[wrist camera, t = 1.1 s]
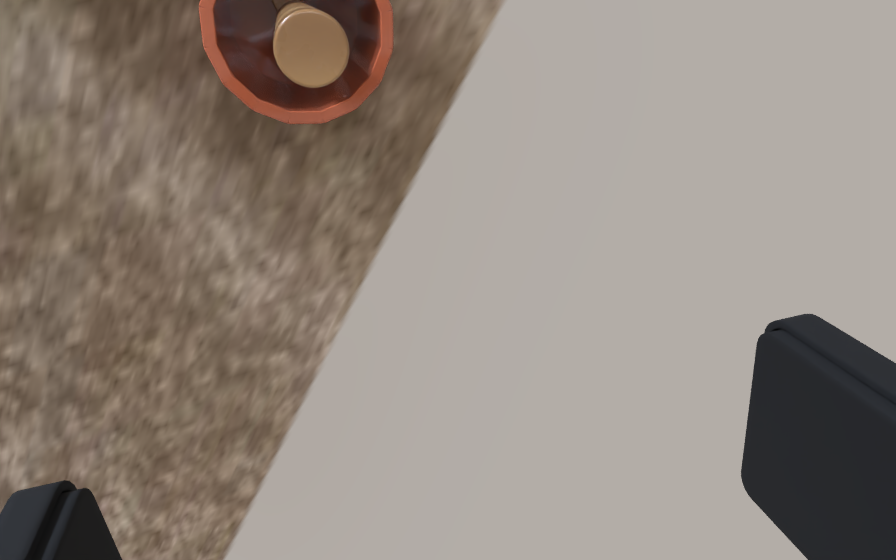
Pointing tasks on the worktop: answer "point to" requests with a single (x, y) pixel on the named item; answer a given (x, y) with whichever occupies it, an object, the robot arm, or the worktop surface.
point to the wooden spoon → (308, 44)
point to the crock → (258, 75)
